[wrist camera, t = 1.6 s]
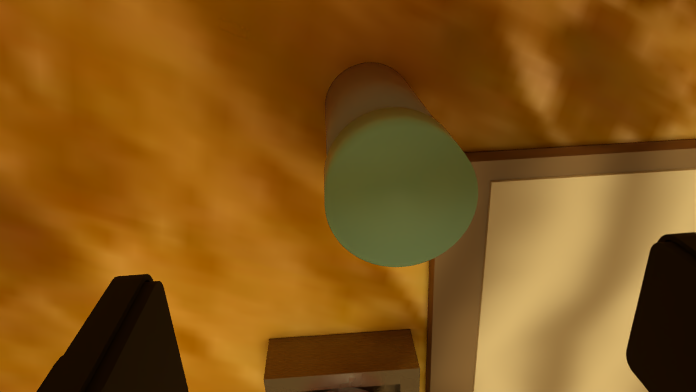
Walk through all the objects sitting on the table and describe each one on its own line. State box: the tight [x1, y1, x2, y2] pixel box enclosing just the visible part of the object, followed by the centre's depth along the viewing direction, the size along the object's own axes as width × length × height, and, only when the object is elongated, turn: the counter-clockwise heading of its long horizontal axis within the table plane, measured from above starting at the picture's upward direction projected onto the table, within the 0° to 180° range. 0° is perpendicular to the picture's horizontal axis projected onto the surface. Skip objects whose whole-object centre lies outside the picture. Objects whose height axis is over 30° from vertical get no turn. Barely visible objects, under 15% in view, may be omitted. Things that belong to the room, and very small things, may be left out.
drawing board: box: [426, 139, 696, 392], centre depth 27 cm, size 16×19×1 cm
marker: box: [324, 63, 478, 267], centre depth 18 cm, size 4×4×10 cm
